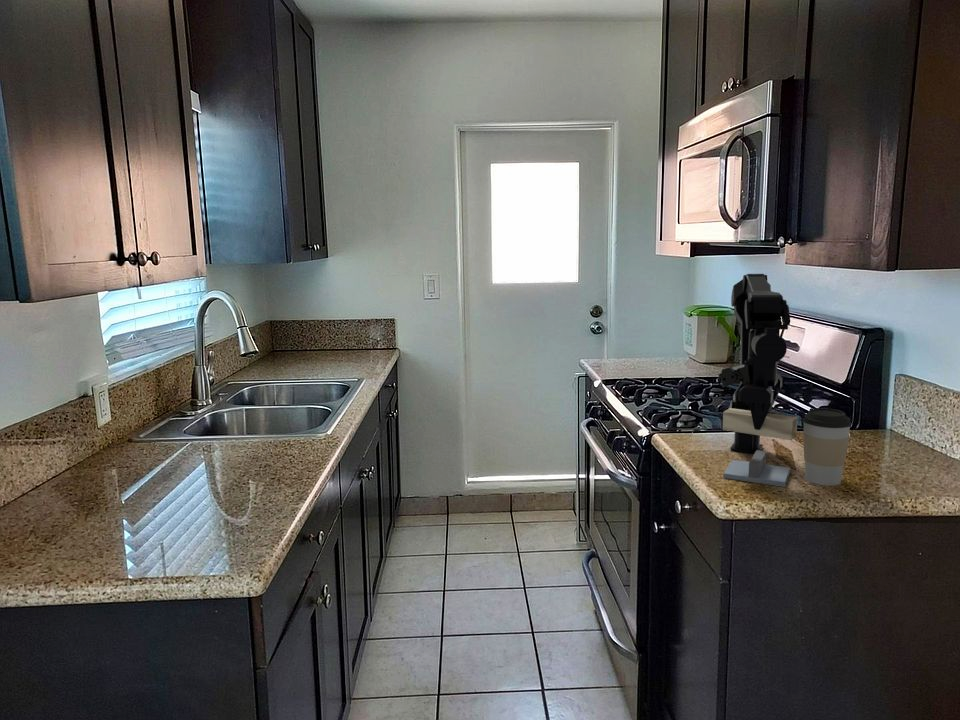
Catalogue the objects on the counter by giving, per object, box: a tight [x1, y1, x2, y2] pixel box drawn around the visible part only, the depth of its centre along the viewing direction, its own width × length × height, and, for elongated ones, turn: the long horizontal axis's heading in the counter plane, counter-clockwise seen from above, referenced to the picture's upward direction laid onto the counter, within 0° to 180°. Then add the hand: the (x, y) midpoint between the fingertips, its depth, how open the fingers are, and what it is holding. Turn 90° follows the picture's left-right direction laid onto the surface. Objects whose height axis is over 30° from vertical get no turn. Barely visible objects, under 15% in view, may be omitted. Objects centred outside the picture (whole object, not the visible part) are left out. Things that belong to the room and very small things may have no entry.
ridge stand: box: [722, 450, 791, 488], centre depth 146 cm, size 10×12×4 cm
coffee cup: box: [802, 407, 852, 487], centre depth 141 cm, size 9×9×15 cm
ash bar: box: [722, 407, 798, 441], centre depth 144 cm, size 4×14×4 cm, turn 51°
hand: (759, 426), depth 144 cm, fingers closed on ash bar, 4 cm apart
